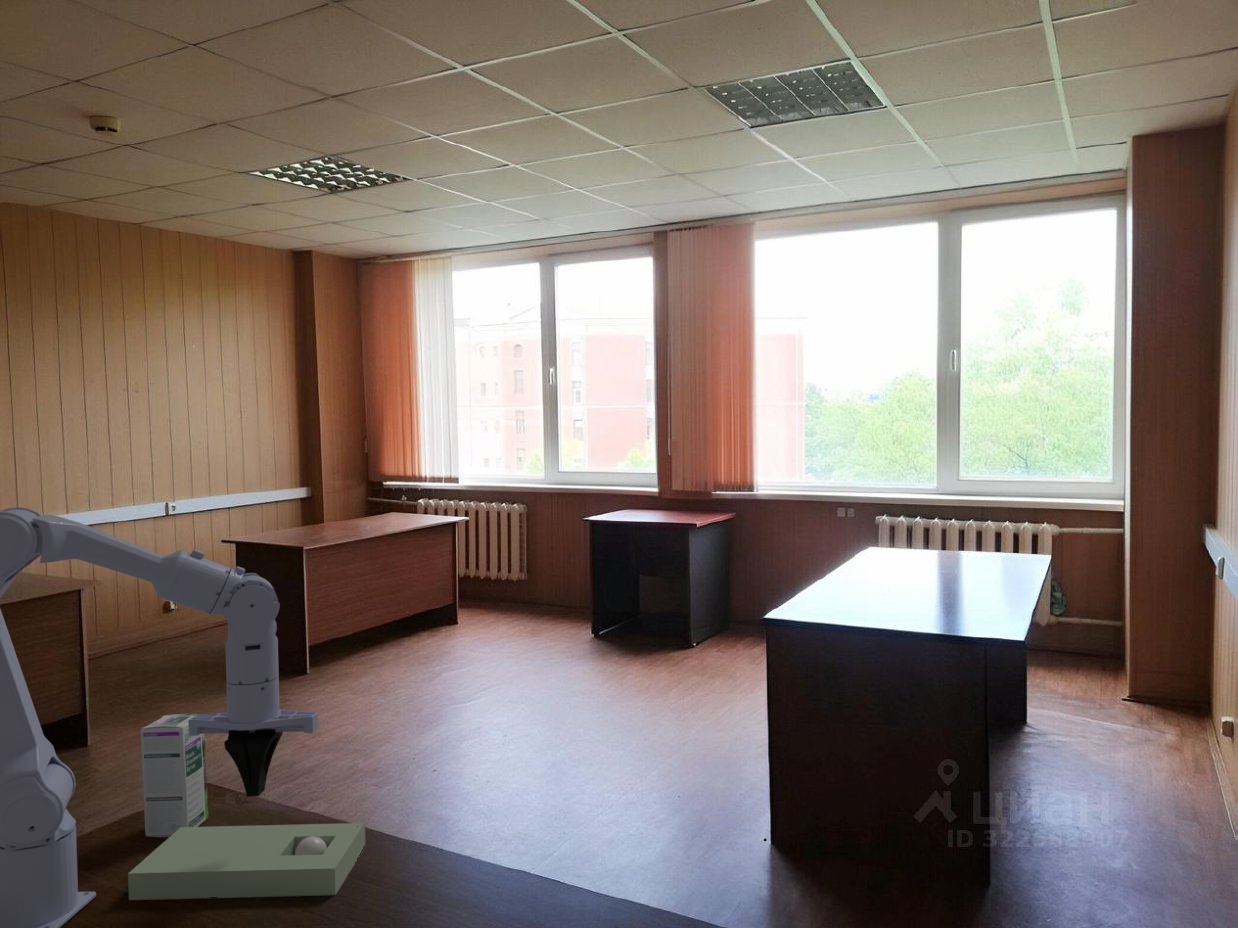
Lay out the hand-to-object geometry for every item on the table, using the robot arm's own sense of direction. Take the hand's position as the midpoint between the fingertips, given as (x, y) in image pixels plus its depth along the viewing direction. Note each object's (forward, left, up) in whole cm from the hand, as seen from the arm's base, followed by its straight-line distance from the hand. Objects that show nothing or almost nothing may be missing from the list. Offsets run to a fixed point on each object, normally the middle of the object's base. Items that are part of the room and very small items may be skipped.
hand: (255, 793), depth 104 cm
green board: (0, 0, -9) cm, 9 cm away
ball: (+6, 0, -7) cm, 10 cm away
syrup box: (-16, +13, -10) cm, 23 cm away
